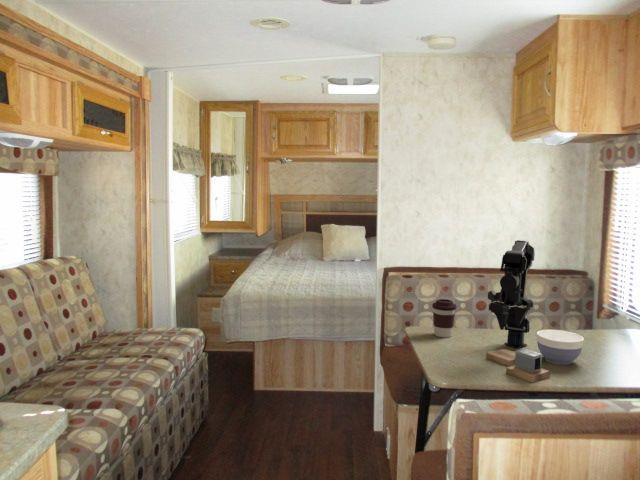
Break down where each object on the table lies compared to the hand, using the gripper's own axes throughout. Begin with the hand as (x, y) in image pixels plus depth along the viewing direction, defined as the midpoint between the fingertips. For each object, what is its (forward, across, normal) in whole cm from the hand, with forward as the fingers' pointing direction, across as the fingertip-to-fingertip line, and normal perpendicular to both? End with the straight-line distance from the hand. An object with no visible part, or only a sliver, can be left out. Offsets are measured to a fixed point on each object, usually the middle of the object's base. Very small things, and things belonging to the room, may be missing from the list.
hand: (509, 327), depth 204 cm
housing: (+10, +8, +14) cm, 19 cm away
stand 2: (+12, +8, +14) cm, 20 cm away
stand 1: (+12, +1, 0) cm, 12 cm away
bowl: (+12, -15, +11) cm, 22 cm away
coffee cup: (+12, -2, -34) cm, 36 cm away
